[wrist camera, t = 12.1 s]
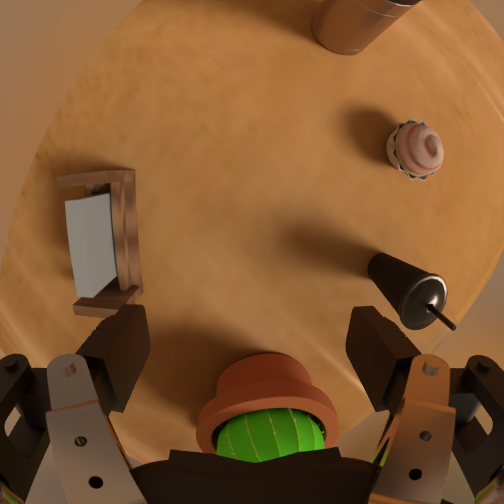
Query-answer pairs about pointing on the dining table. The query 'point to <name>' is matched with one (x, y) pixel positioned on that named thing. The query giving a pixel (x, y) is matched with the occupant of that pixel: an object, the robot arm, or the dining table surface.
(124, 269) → the wooden card holder
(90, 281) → the gray rectangular slab
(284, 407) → the potted cactus
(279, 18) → the dining table surface
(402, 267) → the drinking cup
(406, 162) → the cupcake
